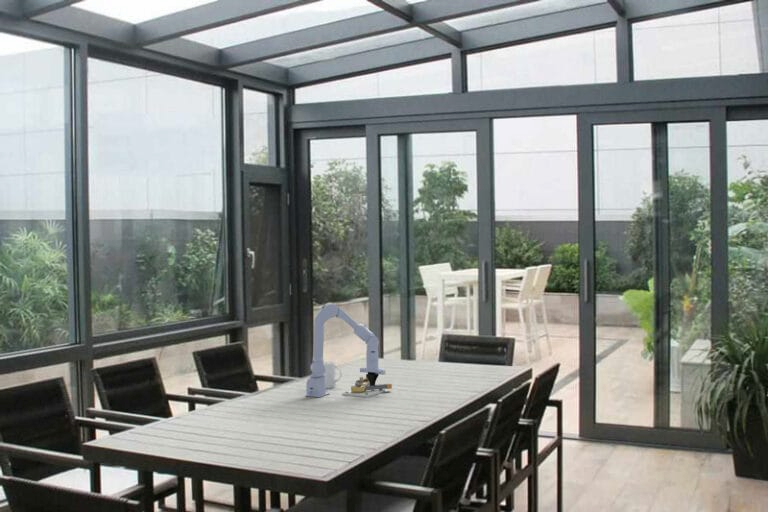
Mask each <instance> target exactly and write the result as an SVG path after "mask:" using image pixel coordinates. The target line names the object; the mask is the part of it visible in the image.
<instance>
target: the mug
mask: <svg viewBox="0 0 768 512" xmlns="http://www.w3.org/2000/svg"><path fill="white" fill-rule="evenodd" d="M324 367H325V373H324V374H325V375H326V389H334V388H336V387H337V382H339V381H340V380H341V377H342V374H343V373H342V370H341V369H340V367H339V366H337V365H336V362H334V361H324ZM336 369H338V371H339V373H340V375H339V378H337V373H336Z"/></svg>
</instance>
